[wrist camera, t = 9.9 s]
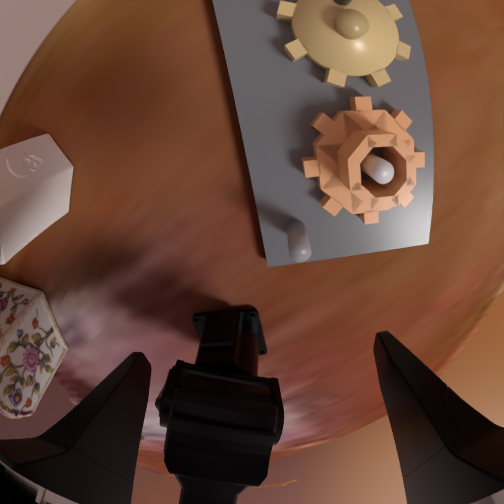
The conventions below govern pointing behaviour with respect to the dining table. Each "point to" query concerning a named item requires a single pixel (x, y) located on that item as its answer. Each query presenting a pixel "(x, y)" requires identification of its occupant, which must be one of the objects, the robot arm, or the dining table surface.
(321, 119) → the loose gear
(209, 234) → the dining table surface
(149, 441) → the dining table surface
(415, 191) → the gear board
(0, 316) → the decorative jar
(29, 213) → the jar
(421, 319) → the dining table surface
